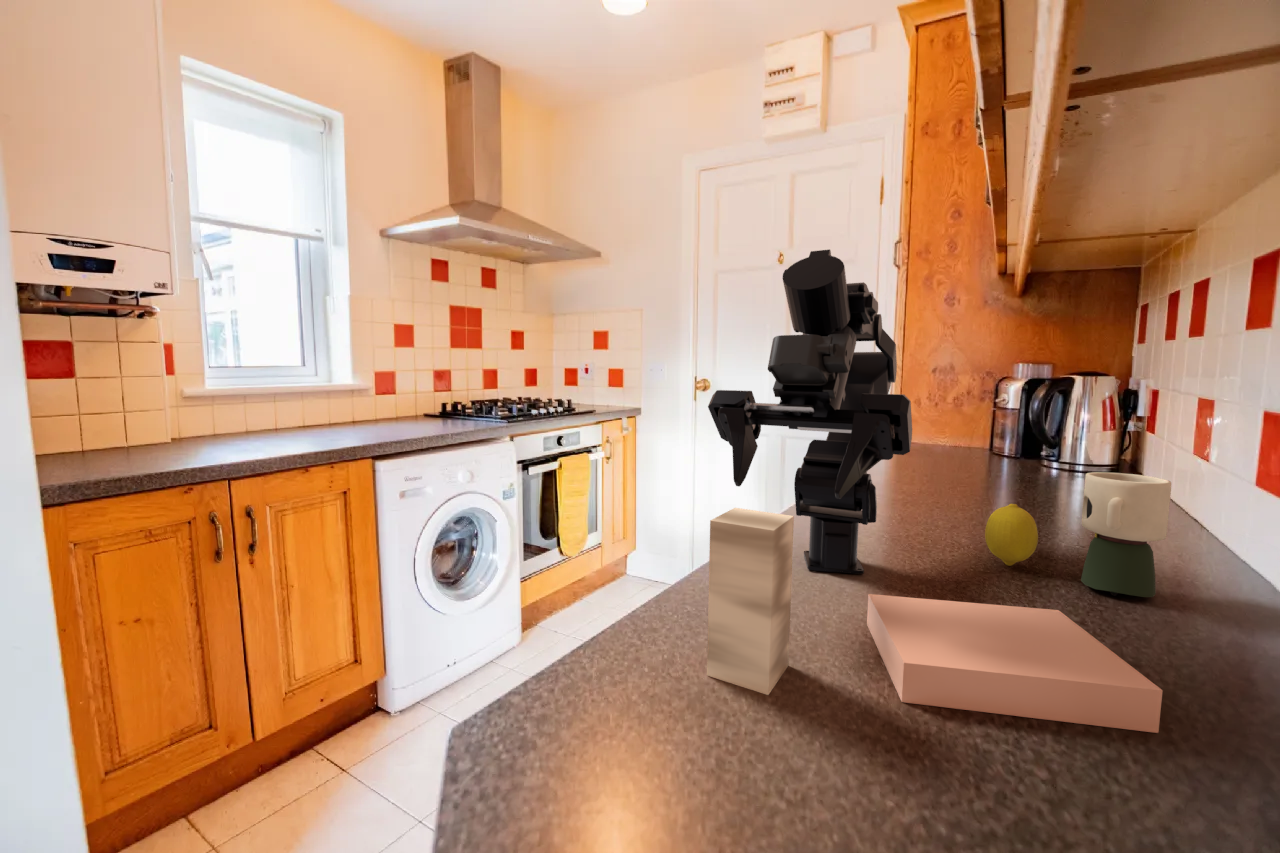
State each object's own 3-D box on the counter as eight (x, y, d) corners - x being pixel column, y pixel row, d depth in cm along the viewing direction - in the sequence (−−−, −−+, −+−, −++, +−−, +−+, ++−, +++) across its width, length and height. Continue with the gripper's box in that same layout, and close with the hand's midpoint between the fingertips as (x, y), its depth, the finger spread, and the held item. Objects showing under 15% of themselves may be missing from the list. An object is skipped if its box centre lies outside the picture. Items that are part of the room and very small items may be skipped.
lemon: (973, 561, 72) (977, 500, 71) (1003, 556, 74) (1007, 497, 73) (1014, 575, 67) (1019, 510, 66) (1046, 570, 69) (1051, 507, 68)
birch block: (731, 649, 48) (735, 507, 47) (788, 665, 45) (793, 516, 44) (706, 675, 44) (710, 520, 43) (768, 695, 41) (773, 530, 40)
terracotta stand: (866, 624, 53) (868, 593, 53) (1055, 642, 50) (1058, 610, 49) (901, 702, 40) (903, 662, 40) (1158, 733, 37) (1162, 690, 37)
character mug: (1089, 572, 68) (1098, 468, 67) (1168, 590, 62) (1180, 476, 61) (1063, 594, 61) (1072, 477, 60) (1149, 616, 56) (1162, 488, 54)
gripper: (717, 312, 58) (664, 425, 49) (916, 301, 48) (891, 439, 40) (743, 387, 65) (700, 496, 57) (919, 391, 55) (899, 523, 47)
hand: (784, 489), depth 50 cm, fingers open, 9 cm apart
